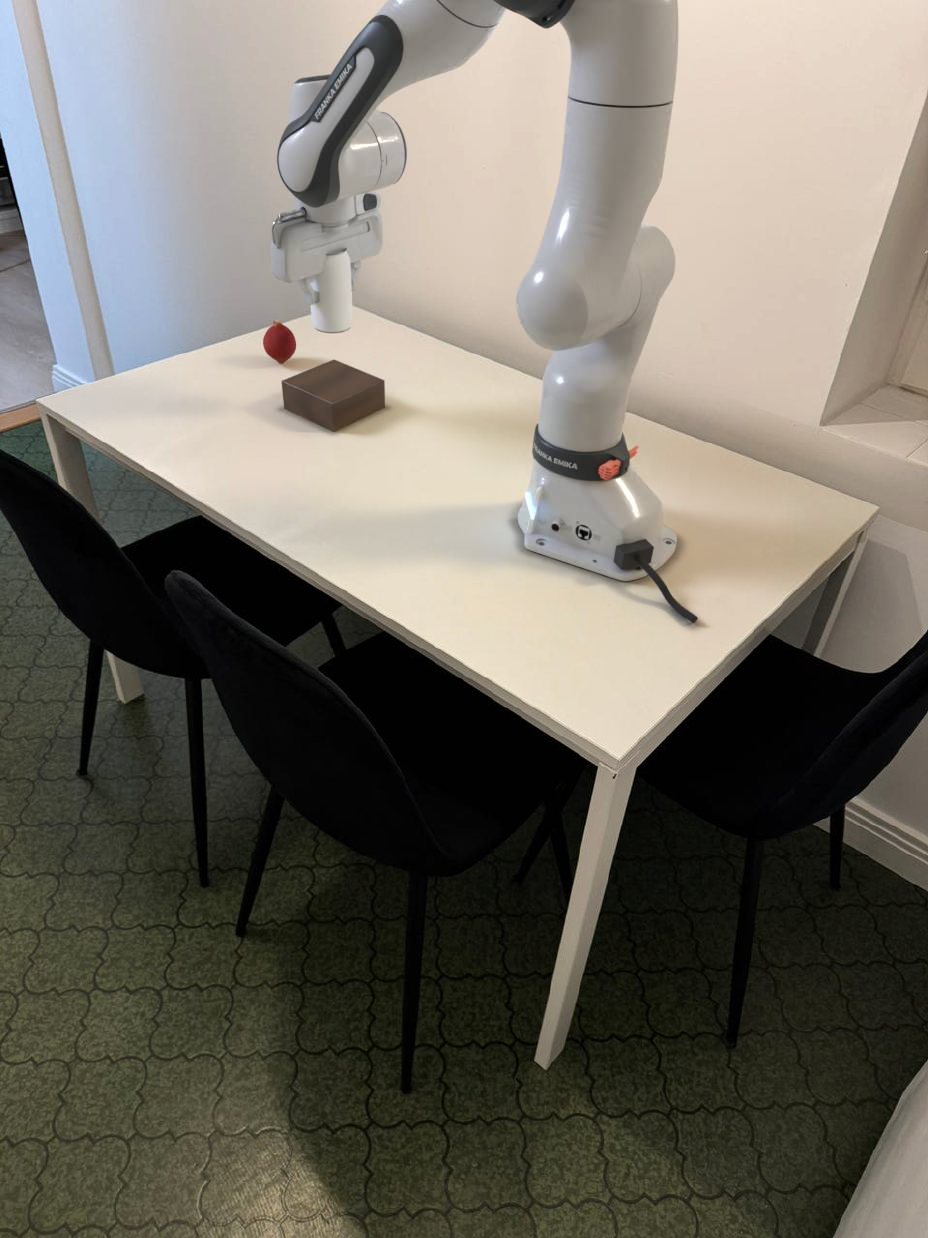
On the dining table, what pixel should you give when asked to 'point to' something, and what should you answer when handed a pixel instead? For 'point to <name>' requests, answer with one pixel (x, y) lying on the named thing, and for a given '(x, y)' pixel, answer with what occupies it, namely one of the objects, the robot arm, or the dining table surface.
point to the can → (333, 295)
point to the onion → (279, 342)
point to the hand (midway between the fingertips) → (330, 296)
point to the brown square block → (333, 394)
